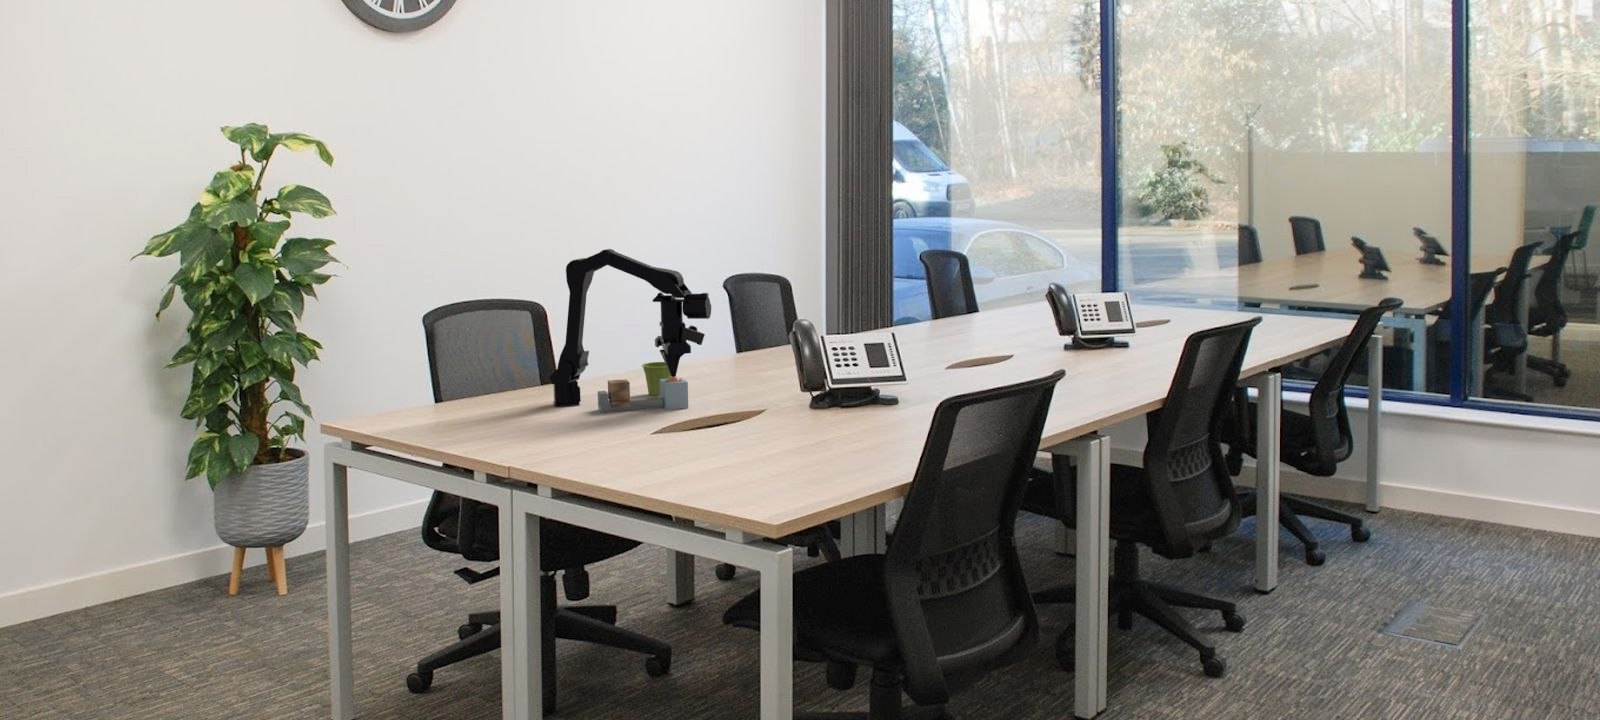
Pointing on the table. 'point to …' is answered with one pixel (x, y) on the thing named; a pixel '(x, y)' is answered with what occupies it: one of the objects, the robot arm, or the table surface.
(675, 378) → the brown egg
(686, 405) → the blue grey open box
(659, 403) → the rail
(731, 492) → the table surface
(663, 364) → the plant pot
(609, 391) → the block
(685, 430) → the table surface
